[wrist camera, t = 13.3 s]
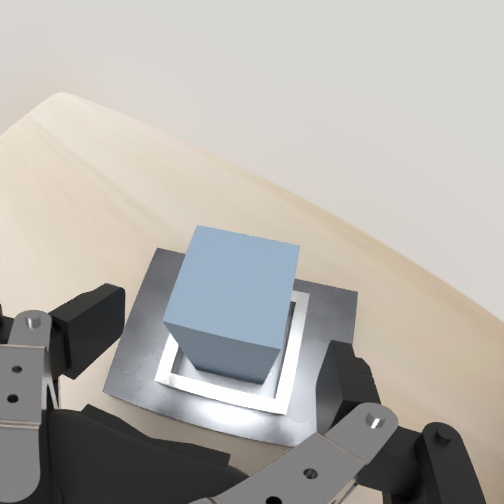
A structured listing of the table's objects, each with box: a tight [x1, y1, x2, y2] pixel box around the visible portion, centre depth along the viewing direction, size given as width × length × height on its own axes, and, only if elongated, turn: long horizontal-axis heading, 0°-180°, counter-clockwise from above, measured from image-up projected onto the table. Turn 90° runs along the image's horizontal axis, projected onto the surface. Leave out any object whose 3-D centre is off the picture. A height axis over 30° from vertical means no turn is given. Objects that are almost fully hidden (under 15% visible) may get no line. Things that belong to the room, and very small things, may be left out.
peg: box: [162, 225, 300, 385], centre depth 17 cm, size 4×4×10 cm
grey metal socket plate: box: [103, 248, 358, 447], centre depth 21 cm, size 16×12×3 cm
